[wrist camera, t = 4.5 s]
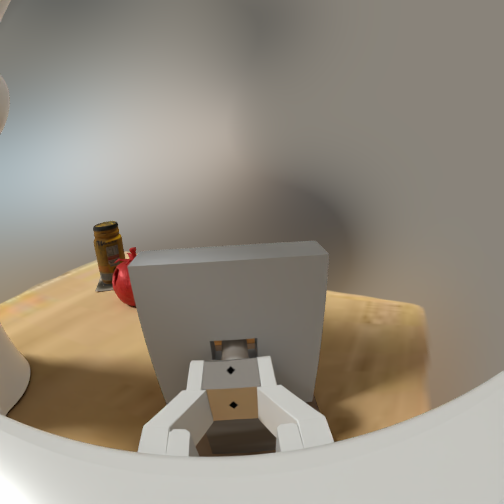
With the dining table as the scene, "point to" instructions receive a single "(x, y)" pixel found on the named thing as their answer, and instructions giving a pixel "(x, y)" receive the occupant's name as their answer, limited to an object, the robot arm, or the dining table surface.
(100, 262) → the condiment
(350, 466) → the robot arm
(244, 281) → the grey slab
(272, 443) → the pipe rig
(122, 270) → the pomegranate
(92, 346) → the dining table surface
